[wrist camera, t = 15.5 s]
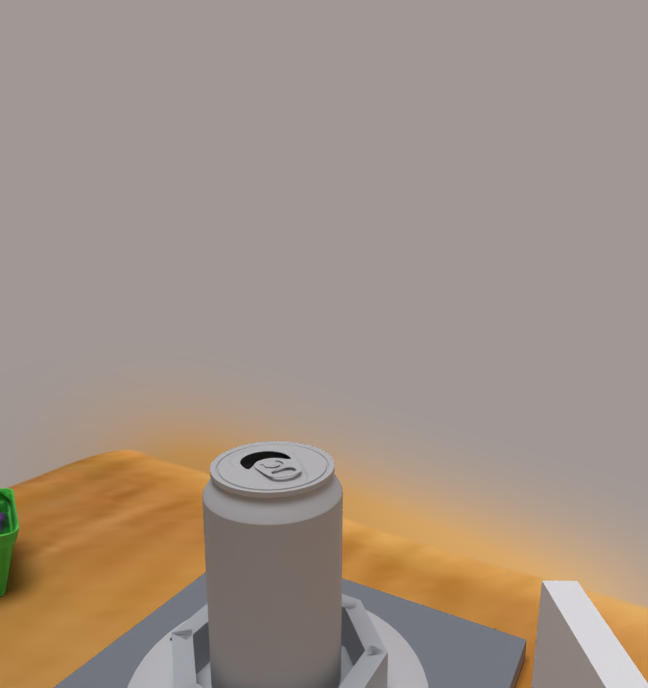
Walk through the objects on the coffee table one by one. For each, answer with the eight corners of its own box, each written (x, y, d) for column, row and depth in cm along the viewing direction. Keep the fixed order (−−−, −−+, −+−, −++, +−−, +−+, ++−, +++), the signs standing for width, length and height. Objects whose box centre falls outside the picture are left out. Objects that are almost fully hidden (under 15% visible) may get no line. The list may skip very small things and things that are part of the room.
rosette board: (-33, 778, 27) (-45, 701, 26) (242, 559, 44) (240, 509, 43) (372, 1101, 17) (374, 996, 16) (524, 658, 34) (529, 595, 33)
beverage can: (299, 627, 34) (297, 427, 32) (367, 702, 29) (371, 470, 26) (192, 672, 31) (180, 453, 28) (246, 767, 25) (237, 508, 23)
